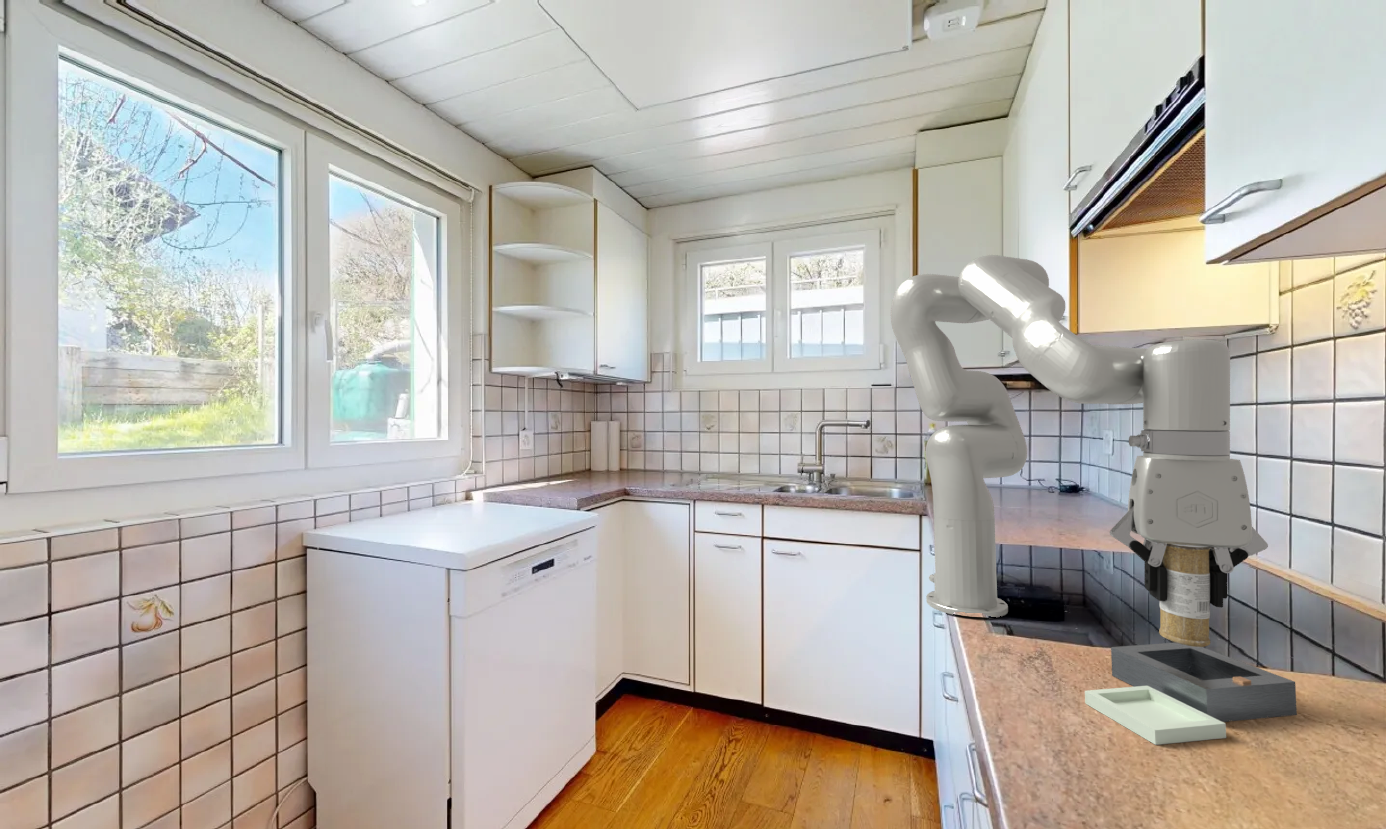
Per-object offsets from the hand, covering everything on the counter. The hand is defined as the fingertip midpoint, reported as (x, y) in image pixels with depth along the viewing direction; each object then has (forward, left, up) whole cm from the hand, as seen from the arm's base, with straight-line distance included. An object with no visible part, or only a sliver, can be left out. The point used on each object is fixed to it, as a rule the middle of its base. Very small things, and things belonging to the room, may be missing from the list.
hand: (1184, 598), depth 63 cm
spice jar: (0, 0, -5) cm, 5 cm away
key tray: (+5, -10, -11) cm, 16 cm away
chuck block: (+1, 0, -11) cm, 11 cm away
